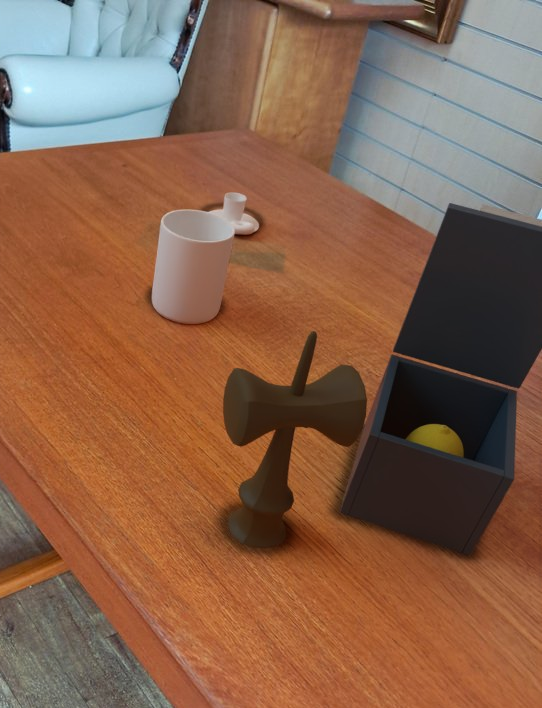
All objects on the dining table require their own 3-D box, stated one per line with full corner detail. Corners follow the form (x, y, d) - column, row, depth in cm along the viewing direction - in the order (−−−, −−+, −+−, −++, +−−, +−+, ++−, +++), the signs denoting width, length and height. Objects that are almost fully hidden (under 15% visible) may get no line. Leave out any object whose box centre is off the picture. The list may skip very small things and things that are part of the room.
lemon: (371, 491, 72) (400, 421, 67) (404, 467, 76) (433, 399, 70) (422, 525, 70) (456, 455, 65) (453, 499, 73) (488, 431, 68)
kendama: (318, 558, 66) (395, 355, 53) (208, 564, 64) (259, 355, 51) (296, 508, 71) (362, 309, 57) (192, 513, 68) (235, 307, 55)
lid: (600, 246, 60) (601, 212, 63) (448, 207, 62) (456, 176, 65) (519, 389, 71) (523, 354, 74) (392, 352, 73) (402, 319, 76)
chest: (466, 563, 68) (514, 479, 62) (336, 520, 70) (369, 433, 63) (474, 472, 78) (517, 390, 71) (360, 436, 80) (391, 353, 73)
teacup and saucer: (255, 243, 110) (262, 215, 108) (200, 233, 111) (204, 204, 108) (260, 219, 117) (266, 191, 114) (207, 208, 117) (212, 181, 114)
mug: (161, 272, 100) (171, 191, 93) (225, 284, 100) (240, 204, 93) (145, 318, 91) (155, 233, 84) (215, 331, 91) (231, 247, 84)
